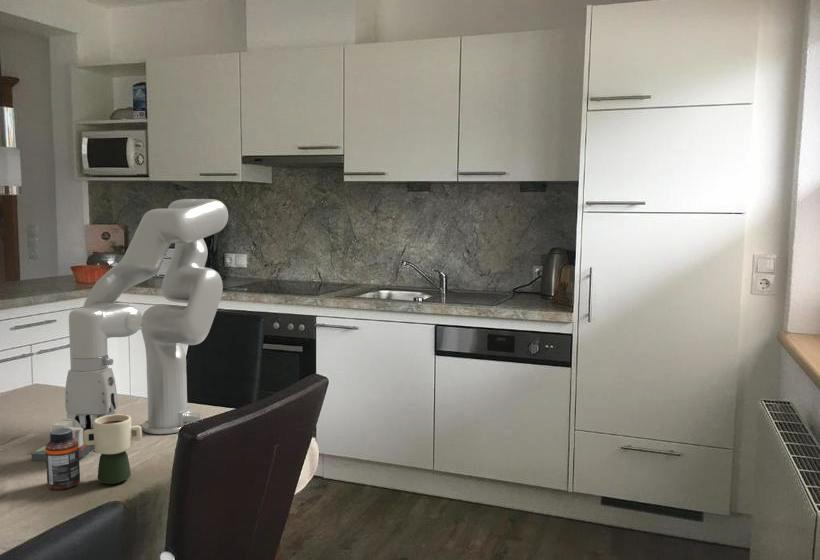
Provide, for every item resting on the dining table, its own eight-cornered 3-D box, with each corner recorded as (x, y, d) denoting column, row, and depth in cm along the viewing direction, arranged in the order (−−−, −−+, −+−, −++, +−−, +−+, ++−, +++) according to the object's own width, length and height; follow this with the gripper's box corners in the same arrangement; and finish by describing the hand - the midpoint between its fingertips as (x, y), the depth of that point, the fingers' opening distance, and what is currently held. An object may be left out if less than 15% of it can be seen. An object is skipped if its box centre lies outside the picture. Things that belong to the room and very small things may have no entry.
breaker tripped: (83, 444, 155) (82, 427, 154) (74, 449, 151) (74, 432, 151) (70, 444, 155) (69, 427, 154) (62, 449, 151) (61, 432, 151)
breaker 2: (83, 431, 164) (83, 415, 163) (75, 436, 160) (75, 419, 160) (71, 431, 164) (71, 415, 164) (63, 435, 161) (63, 419, 160)
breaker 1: (73, 437, 159) (72, 421, 159) (64, 442, 156) (64, 425, 156) (60, 437, 160) (60, 420, 159) (52, 442, 156) (51, 425, 156)
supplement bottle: (55, 479, 139) (52, 426, 138) (85, 479, 140) (82, 425, 139) (41, 491, 134) (39, 435, 132) (73, 490, 134) (70, 435, 133)
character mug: (144, 471, 144) (142, 411, 143) (141, 484, 137) (140, 421, 136) (87, 477, 141) (85, 416, 140) (82, 490, 134) (80, 426, 133)
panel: (111, 438, 165) (111, 431, 165) (74, 461, 150) (74, 454, 149) (72, 436, 166) (72, 430, 166) (31, 460, 150) (31, 453, 150)
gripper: (130, 360, 154) (132, 439, 156) (66, 359, 155) (69, 437, 157) (113, 368, 147) (116, 450, 148) (46, 366, 147) (50, 448, 149)
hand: (92, 443), depth 152 cm, fingers closed
